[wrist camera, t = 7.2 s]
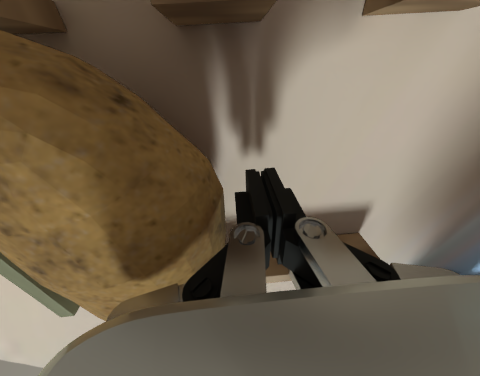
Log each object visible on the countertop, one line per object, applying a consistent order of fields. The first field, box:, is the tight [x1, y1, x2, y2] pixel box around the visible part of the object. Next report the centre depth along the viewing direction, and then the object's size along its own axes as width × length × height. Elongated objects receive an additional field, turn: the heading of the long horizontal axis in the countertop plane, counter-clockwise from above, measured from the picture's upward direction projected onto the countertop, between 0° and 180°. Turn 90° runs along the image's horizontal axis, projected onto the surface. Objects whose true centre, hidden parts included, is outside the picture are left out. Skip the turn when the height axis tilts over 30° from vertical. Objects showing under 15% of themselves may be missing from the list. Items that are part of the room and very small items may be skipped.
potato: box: [0, 30, 226, 321], centre depth 9 cm, size 10×14×8 cm
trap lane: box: [0, 0, 480, 317], centre depth 11 cm, size 26×18×4 cm
